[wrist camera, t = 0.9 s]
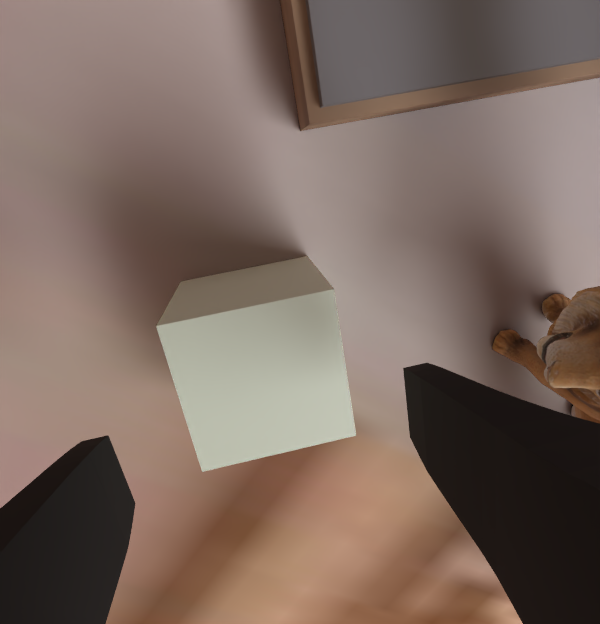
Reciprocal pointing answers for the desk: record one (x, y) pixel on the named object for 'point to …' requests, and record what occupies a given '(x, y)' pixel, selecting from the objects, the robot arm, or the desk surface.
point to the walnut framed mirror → (431, 52)
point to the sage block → (258, 362)
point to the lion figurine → (564, 351)
